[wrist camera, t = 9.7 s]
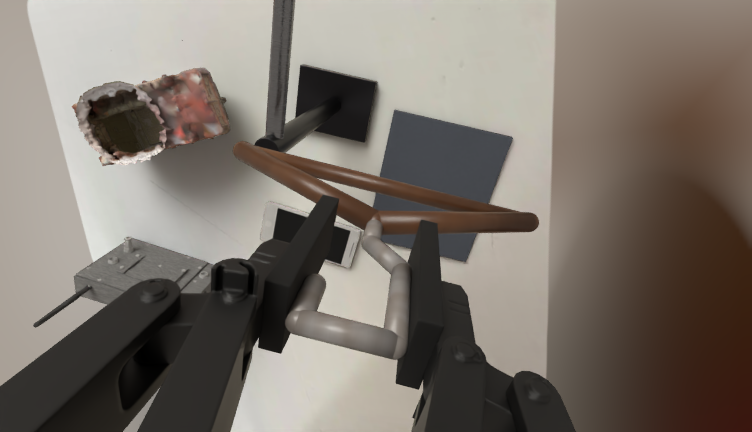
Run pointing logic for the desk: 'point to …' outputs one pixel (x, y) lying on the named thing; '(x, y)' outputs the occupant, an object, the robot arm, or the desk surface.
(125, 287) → the electronic device
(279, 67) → the rail stand
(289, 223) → the smartphone
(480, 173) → the felt mat
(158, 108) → the decorative box
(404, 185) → the hanger
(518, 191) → the desk surface
